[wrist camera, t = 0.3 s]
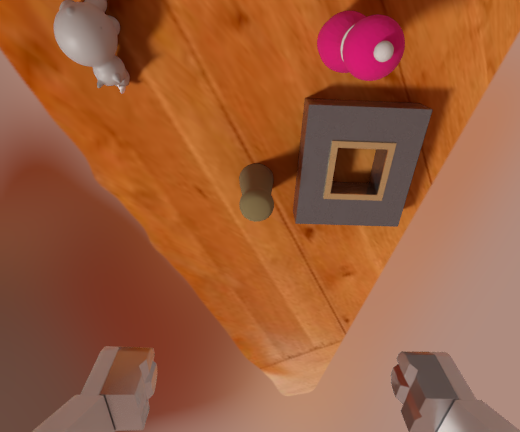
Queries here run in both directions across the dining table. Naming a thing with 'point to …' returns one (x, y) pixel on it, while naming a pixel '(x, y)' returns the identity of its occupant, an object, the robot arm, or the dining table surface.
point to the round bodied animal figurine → (91, 40)
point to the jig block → (363, 137)
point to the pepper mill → (361, 44)
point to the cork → (256, 192)
